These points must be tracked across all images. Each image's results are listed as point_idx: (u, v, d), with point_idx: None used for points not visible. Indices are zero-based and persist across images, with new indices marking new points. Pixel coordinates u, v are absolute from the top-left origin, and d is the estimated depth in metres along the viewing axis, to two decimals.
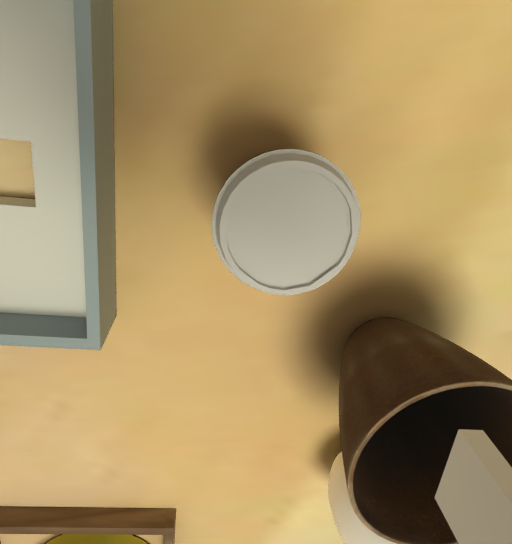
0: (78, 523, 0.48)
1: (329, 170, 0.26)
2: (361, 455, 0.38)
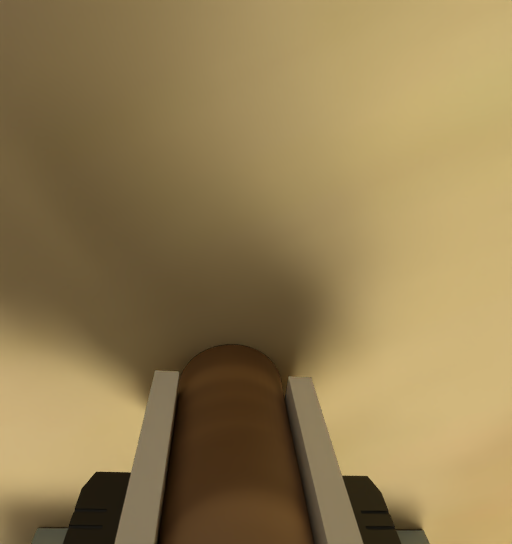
0: None
1: None
2: None
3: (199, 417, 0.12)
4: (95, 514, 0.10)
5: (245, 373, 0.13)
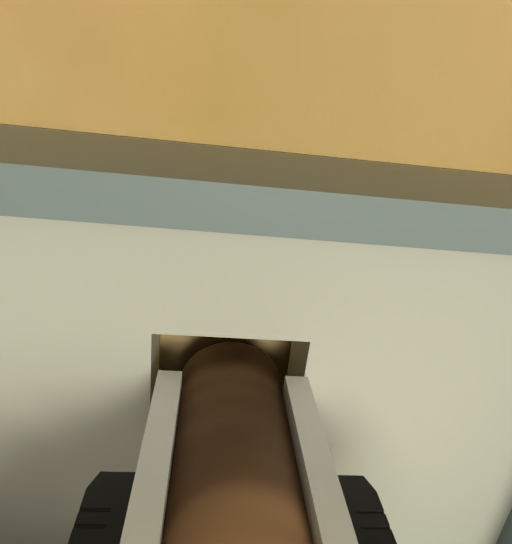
0: None
1: None
2: None
3: (199, 412, 0.12)
4: (100, 513, 0.10)
5: (244, 369, 0.14)
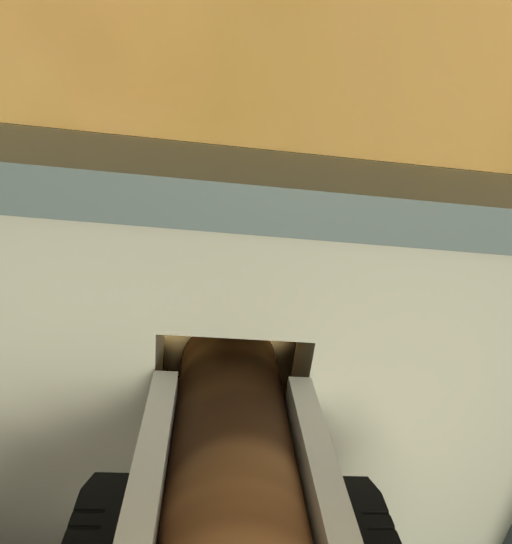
0: None
1: None
2: None
3: (203, 380, 0.13)
4: (94, 514, 0.10)
5: (244, 346, 0.15)
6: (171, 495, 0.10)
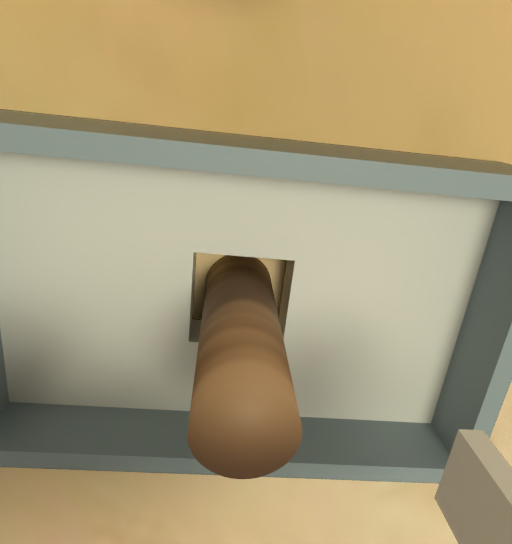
0: None
1: None
2: None
3: (222, 280, 0.21)
4: None
5: (248, 264, 0.23)
6: (206, 326, 0.18)
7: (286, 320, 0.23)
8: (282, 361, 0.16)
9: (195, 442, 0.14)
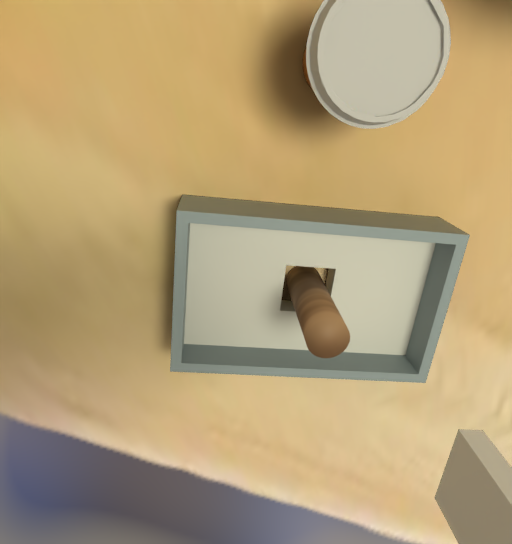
0: None
1: (328, 9, 0.27)
2: None
3: (301, 278, 0.43)
4: None
5: (311, 270, 0.45)
6: (300, 300, 0.40)
7: None
8: None
9: (308, 342, 0.36)
